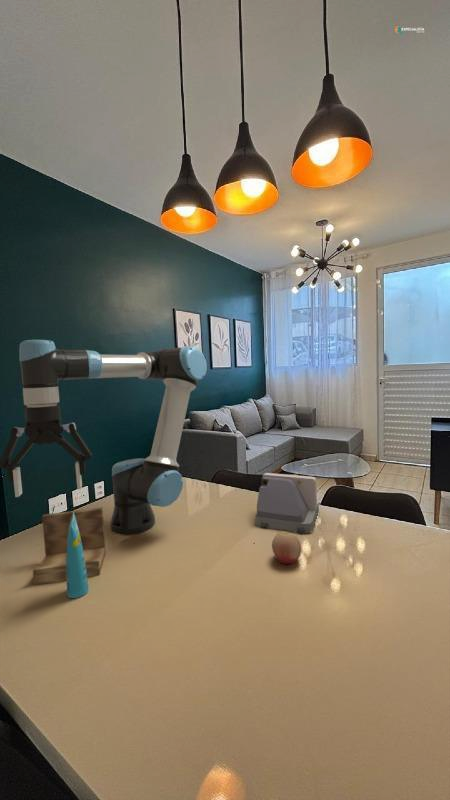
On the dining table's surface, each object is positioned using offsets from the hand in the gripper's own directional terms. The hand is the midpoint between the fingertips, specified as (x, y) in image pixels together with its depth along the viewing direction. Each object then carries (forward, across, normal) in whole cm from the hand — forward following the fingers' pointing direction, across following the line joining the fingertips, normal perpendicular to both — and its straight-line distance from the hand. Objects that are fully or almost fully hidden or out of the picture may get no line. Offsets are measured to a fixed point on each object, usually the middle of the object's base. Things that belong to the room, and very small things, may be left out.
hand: (50, 491), depth 84 cm
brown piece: (+25, -2, -9) cm, 27 cm away
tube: (+25, -5, +3) cm, 26 cm away
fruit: (+25, -59, +8) cm, 65 cm away
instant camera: (+26, -71, -15) cm, 77 cm away
